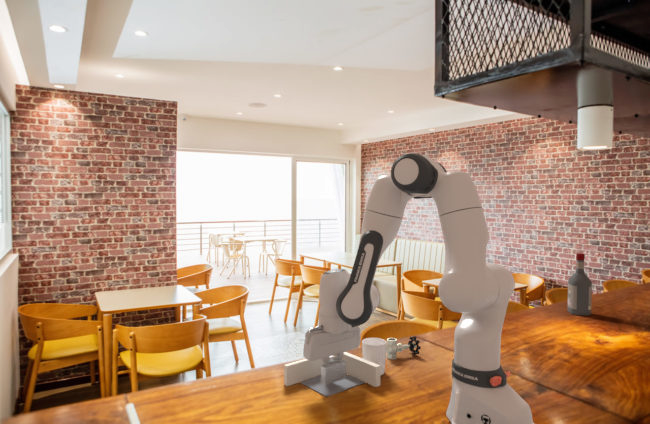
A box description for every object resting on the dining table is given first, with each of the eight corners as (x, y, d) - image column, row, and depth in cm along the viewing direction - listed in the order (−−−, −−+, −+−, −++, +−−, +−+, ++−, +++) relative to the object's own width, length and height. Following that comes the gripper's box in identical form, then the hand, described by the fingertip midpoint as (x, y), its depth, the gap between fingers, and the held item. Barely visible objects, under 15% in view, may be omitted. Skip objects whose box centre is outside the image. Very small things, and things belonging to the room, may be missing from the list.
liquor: (572, 315, 215) (573, 254, 214) (566, 310, 224) (567, 252, 223) (592, 316, 213) (594, 255, 212) (585, 311, 222) (587, 253, 221)
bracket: (346, 378, 128) (346, 361, 128) (325, 385, 123) (325, 368, 123) (328, 369, 134) (328, 353, 134) (307, 376, 129) (308, 359, 129)
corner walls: (380, 385, 130) (380, 365, 130) (324, 407, 115) (324, 385, 115) (338, 367, 144) (338, 349, 144) (283, 384, 129) (284, 364, 129)
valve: (391, 361, 149) (420, 357, 154) (391, 342, 149) (421, 338, 154) (381, 355, 155) (410, 351, 160) (382, 337, 155) (410, 333, 160)
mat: (364, 383, 131) (364, 382, 131) (326, 397, 122) (326, 396, 122) (337, 371, 140) (337, 370, 140) (300, 383, 131) (300, 382, 131)
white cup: (366, 378, 135) (367, 346, 135) (358, 368, 143) (358, 338, 142) (390, 375, 137) (390, 344, 137) (380, 366, 145) (380, 336, 144)
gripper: (312, 331, 122) (311, 380, 122) (364, 319, 135) (363, 363, 135) (299, 326, 127) (298, 373, 127) (350, 315, 140) (349, 357, 140)
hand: (332, 368), depth 131 cm, fingers closed on bracket
